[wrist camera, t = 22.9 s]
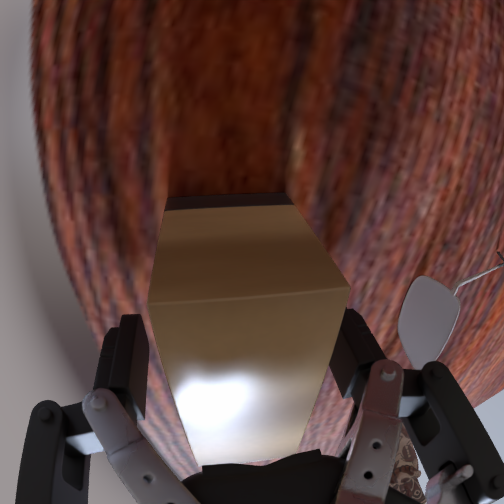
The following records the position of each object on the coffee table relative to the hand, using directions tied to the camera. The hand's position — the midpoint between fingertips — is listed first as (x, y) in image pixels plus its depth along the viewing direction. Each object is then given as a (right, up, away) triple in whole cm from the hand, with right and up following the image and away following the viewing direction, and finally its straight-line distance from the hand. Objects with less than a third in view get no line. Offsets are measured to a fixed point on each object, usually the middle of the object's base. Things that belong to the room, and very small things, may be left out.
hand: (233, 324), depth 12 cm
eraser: (0, +1, +2) cm, 2 cm away
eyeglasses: (+13, -3, +7) cm, 15 cm away
